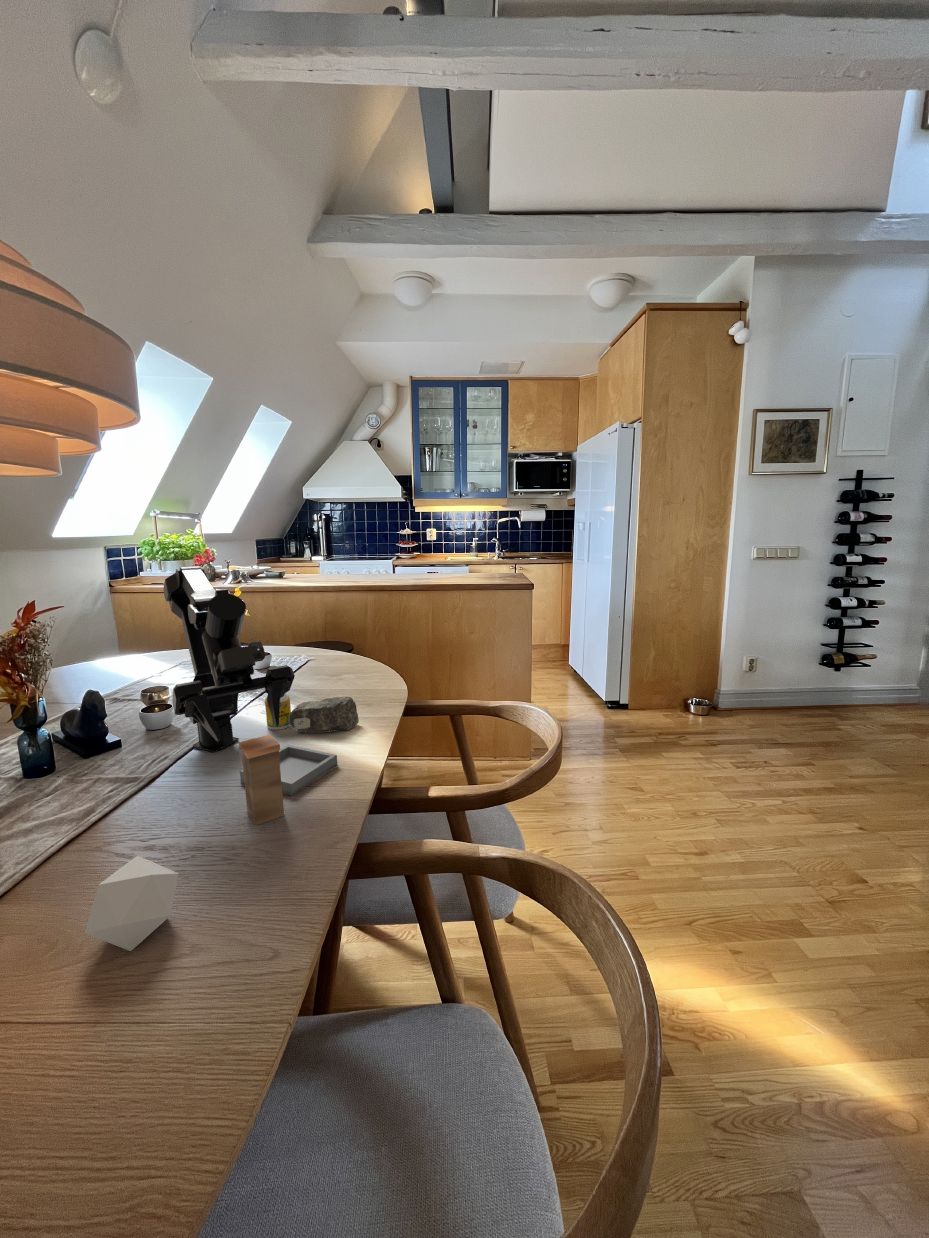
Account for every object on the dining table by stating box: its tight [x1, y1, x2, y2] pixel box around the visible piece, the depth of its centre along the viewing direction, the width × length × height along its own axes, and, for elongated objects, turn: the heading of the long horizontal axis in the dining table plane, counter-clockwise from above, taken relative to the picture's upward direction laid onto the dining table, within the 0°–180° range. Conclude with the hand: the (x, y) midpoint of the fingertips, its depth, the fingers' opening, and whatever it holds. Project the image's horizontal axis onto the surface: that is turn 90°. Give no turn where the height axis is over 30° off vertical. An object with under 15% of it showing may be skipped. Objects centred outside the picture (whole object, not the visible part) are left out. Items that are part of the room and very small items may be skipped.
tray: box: [239, 744, 338, 797], centre depth 95 cm, size 12×12×2 cm
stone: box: [289, 696, 360, 733], centre depth 115 cm, size 14×7×10 cm, turn 104°
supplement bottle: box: [264, 692, 292, 731], centre depth 118 cm, size 5×5×10 cm
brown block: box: [238, 734, 285, 826], centre depth 81 cm, size 5×5×12 cm
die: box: [84, 855, 180, 952], centre depth 58 cm, size 8×9×10 cm
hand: (249, 732), depth 84 cm, fingers open, 9 cm apart
